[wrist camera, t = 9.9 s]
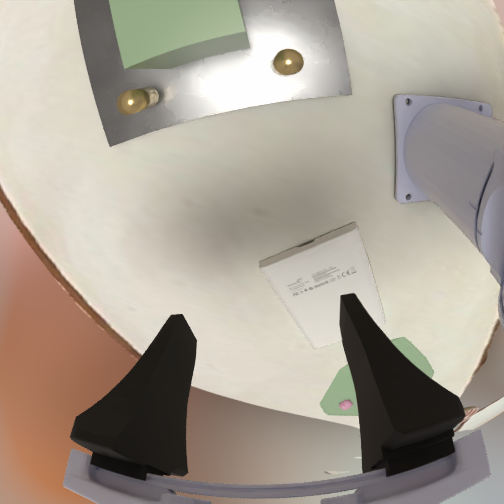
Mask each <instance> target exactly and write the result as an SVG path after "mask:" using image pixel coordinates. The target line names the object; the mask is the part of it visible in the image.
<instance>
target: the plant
mask: <svg viewBox="0 0 504 504" xmlns="http://www.w3.org/2000/svg"><path fill="white" fill-rule="evenodd" d="M390 341H391V342H392V343H393V344H394V345H395V346H396V347H397V348H398V349H399V350H400V351H401V352H402V353H403V354H404V355H405V356H406V357H407V358H408V359H409V360H410V361H411V362H412V363H413V364H414V365H415V366H416V367H418V368H419V369H420V370H421V371H423V372H424V373H425V374H426V375H427V376H429V377H430V378H432V376H433V374H434V370H433V369H432V367H431V365H430V364H429V362H428V360H427V358H426V357H425V356H424V355H423V354H422V353H421V352H420V351H419V350H418V349H417V348H416V347H415V346H414V345H413V344H412V343H411V342H410V341H409V340H407V339H406V338H405V337H401V338H396V339H393V340H390ZM320 405H321V408H322V409H323V411H324V412H325V413H326V414H328V415H339V416H359V415H358V407H357V399H356V393H355V388H354V384H353V380H352V376H351V372H350V369H349V365H346V366H345V367H343V368H342V369H340V370H339V371H338V373H337V375H336V377H335V378H334V380H333V382H332V383H331V385H330V387H329V389H328V390H327V392H326V394H325V396H324V397H323V399H322V401H321V402H320Z"/></svg>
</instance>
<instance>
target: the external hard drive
mask: <svg viewBox="0 0 504 504" xmlns="http://www.w3.org/2000/svg"><path fill="white" fill-rule="evenodd" d="M259 268H260V270H261V271H262V273H263V274H264V276H265V277H266V279H267V280H268V282H269V283H270V285H271V286H272V288H273V289H274V291H275V292H276V294H277V295H278V297H279V298H280V300H281V301H282V303H283V304H284V306H285V307H286V309H287V310H288V312H289V313H290V315H291V316H292V318H293V319H294V321H295V322H296V324H297V325H298V327H299V328H300V330H301V331H302V333H303V334H304V335H305V337H306V338H307V340H308V341H309V343H310V344H311V346H312V347H313V348H314V349H318V348H321V347H325V346H328V345H331V344H334V343H337V342H339V341H342V338H341V332H340V326H339V318H340V295H344V294H350V293H355V294H356V295H357V297H358V299H359V300H360V302H361V303H362V305H363V306H364V308H365V309H366V310H367V312H368V313H369V315H370V316H371V317H372V319H373V320H374V321H375V323H376V324H377V325H378V326H379V327H380V326H382V325H384V324H385V323H386V320H385V316H384V312H383V308H382V304H381V301H380V297H379V293H378V290H377V286H376V283H375V279H374V276H373V273H372V269H371V266H370V263H369V260H368V257H367V253H366V250H365V247H364V244H363V242H362V239H361V236H360V233H359V230H358V227H357V225H356V223H355V222H353V223H351V224H349V225H346V226H344V227H342V228H339V229H337V230H335V231H332V232H330V233H328V234H325V235H323V236H321V237H318V238H316V239H315V240H314V241H313V242H311V243H309V244H307V245H304V246H302V247H299V246H297V247H294V248H292V249H290V250H287V251H285V252H282V253H280V254H278V255H275V256H273V257H270V258H268V259H266V260H263V261H261V262H259Z"/></svg>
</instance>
